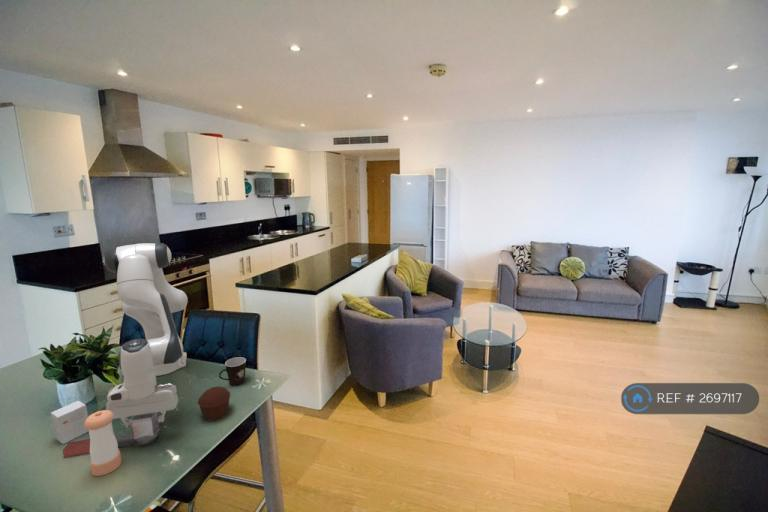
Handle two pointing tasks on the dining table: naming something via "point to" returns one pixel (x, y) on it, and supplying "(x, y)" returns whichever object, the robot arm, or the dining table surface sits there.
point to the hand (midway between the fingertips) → (146, 423)
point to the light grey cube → (145, 425)
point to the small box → (69, 421)
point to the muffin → (214, 403)
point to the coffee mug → (235, 371)
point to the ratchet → (122, 440)
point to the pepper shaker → (102, 443)
